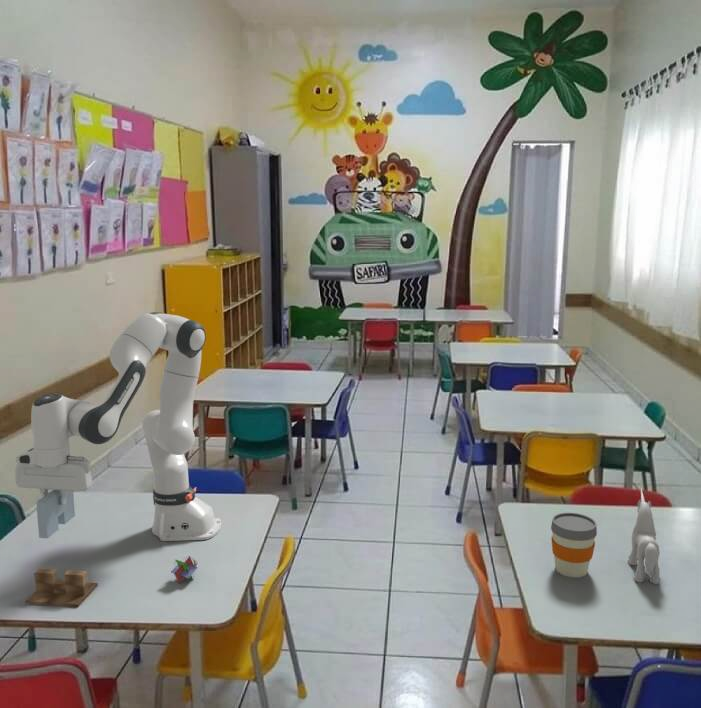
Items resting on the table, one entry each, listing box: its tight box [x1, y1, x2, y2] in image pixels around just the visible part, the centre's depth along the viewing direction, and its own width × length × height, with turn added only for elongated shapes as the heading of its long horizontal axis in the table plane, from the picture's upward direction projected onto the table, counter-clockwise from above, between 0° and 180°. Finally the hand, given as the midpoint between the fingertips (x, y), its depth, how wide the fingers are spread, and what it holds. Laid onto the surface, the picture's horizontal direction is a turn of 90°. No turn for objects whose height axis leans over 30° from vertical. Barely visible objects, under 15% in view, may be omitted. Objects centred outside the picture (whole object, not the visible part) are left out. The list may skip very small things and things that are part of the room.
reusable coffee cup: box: [550, 512, 598, 578], centre depth 203 cm, size 13×12×15 cm
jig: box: [25, 567, 99, 608], centre depth 194 cm, size 15×11×7 cm
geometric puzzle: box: [170, 556, 199, 585], centre depth 201 cm, size 7×7×8 cm
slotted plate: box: [35, 490, 76, 539], centre depth 191 cm, size 14×2×10 cm, turn 173°
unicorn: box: [627, 488, 661, 585], centre depth 204 cm, size 8×25×20 cm, turn 167°
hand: (55, 503), depth 190 cm, fingers closed on slotted plate, 2 cm apart
